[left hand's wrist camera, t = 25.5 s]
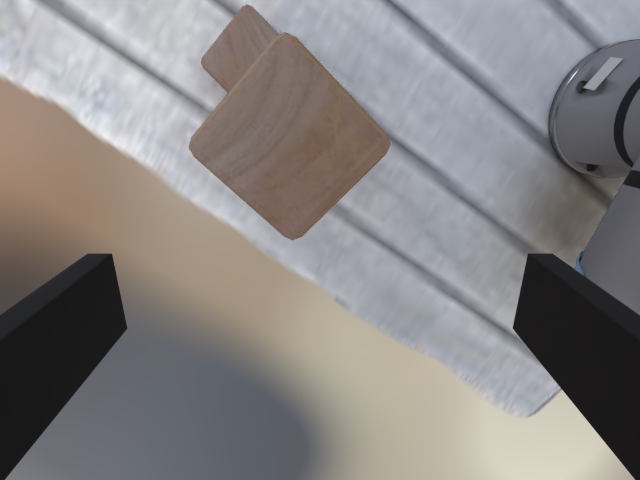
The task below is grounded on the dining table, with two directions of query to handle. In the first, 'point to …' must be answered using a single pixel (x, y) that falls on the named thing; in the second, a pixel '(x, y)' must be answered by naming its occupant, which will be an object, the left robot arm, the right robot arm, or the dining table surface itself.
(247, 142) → the decorative block
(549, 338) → the left robot arm
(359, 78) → the dining table surface
